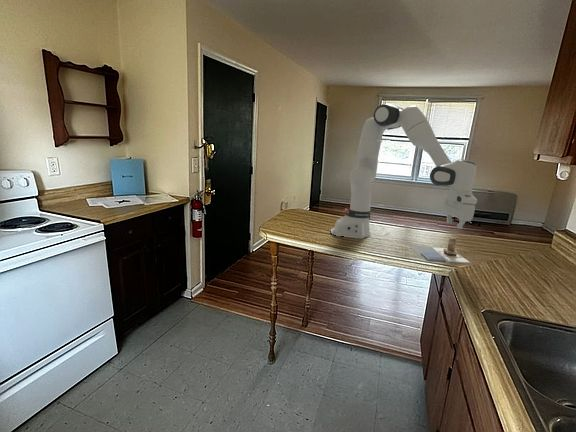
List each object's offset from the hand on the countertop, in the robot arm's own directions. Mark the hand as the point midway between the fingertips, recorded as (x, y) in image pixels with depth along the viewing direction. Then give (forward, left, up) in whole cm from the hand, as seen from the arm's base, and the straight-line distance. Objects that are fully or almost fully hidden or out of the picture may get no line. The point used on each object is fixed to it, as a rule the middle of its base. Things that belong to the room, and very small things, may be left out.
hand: (453, 225), depth 144 cm
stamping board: (-5, 0, -15) cm, 16 cm away
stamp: (+1, 0, -14) cm, 14 cm away
